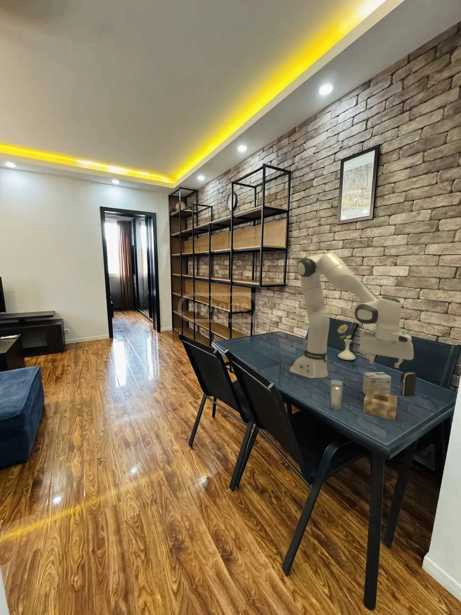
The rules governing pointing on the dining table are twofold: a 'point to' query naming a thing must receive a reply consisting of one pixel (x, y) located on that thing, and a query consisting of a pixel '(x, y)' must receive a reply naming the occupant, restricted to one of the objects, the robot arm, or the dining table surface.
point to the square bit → (336, 382)
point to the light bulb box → (376, 382)
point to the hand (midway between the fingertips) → (383, 365)
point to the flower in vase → (346, 353)
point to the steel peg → (336, 397)
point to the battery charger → (408, 383)
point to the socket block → (380, 404)
